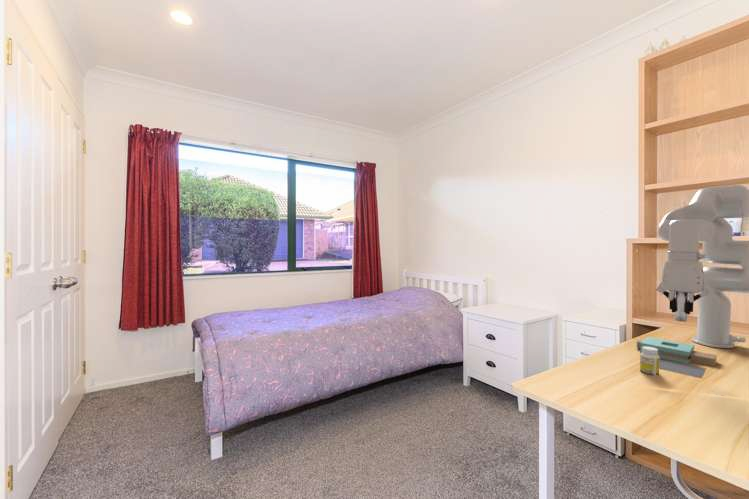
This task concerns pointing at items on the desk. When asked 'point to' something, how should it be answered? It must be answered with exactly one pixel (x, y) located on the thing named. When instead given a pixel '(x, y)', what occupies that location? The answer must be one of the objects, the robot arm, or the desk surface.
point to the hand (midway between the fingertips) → (680, 312)
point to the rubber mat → (681, 368)
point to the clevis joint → (677, 351)
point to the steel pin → (681, 306)
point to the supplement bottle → (649, 361)
